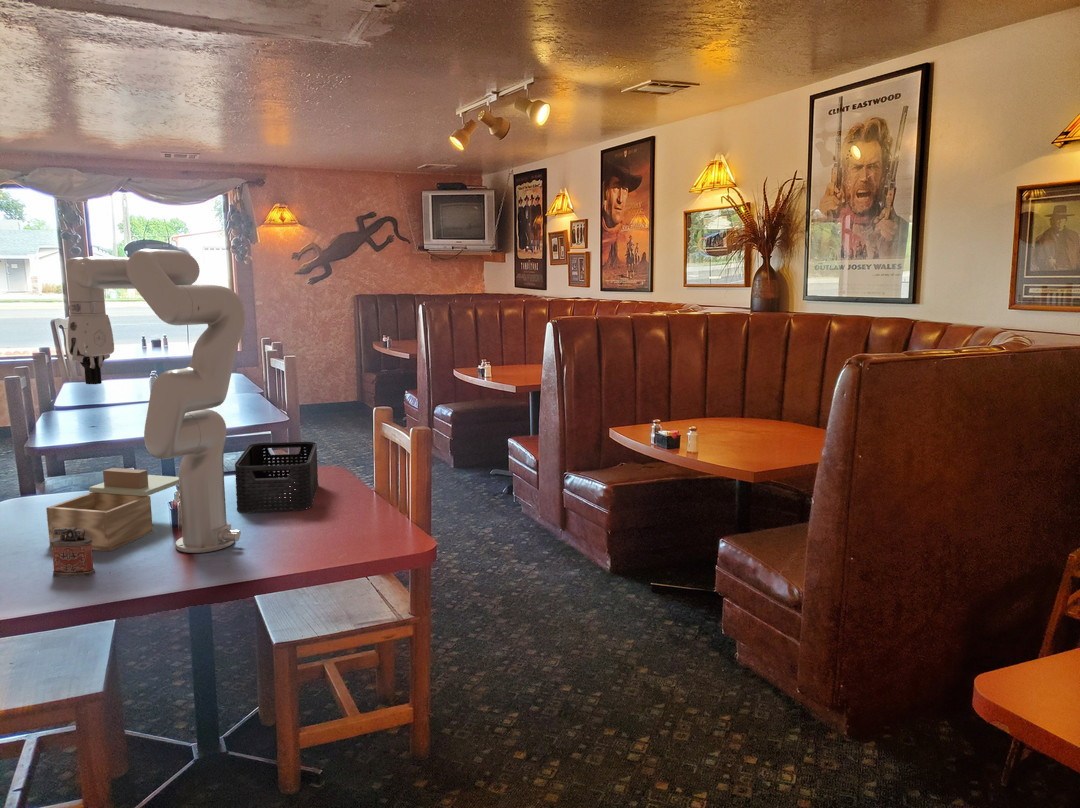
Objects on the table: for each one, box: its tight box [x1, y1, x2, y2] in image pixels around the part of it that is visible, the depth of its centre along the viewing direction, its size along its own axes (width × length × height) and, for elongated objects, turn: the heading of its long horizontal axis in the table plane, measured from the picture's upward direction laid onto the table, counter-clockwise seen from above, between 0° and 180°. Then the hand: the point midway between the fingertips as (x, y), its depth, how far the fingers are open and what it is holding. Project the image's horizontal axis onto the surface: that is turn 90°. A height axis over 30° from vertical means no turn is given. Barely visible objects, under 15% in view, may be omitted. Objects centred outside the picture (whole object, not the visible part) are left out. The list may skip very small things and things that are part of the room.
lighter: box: [49, 527, 96, 578], centre depth 159 cm, size 8×3×10 cm, turn 92°
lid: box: [88, 467, 179, 496], centre depth 192 cm, size 16×14×5 cm
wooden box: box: [45, 492, 154, 552], centre depth 181 cm, size 16×14×9 cm
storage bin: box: [234, 441, 319, 514], centre depth 217 cm, size 29×19×13 cm
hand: (93, 383), depth 190 cm, fingers closed
